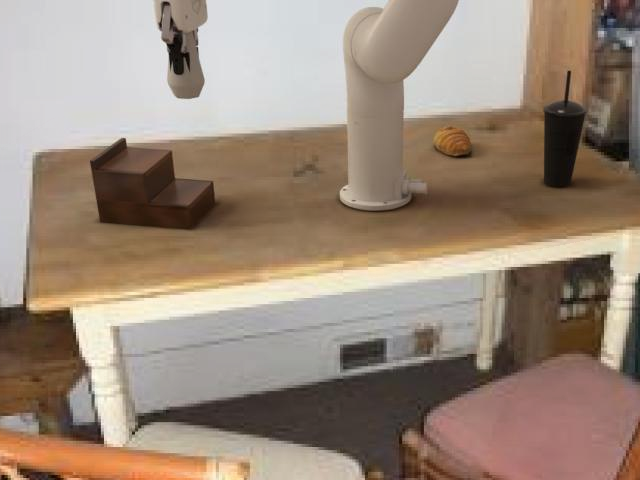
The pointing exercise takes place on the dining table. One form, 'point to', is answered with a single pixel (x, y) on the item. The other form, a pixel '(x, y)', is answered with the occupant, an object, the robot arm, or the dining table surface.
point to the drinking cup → (562, 138)
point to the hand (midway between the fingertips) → (185, 74)
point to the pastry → (452, 141)
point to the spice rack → (147, 189)
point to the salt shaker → (187, 73)
